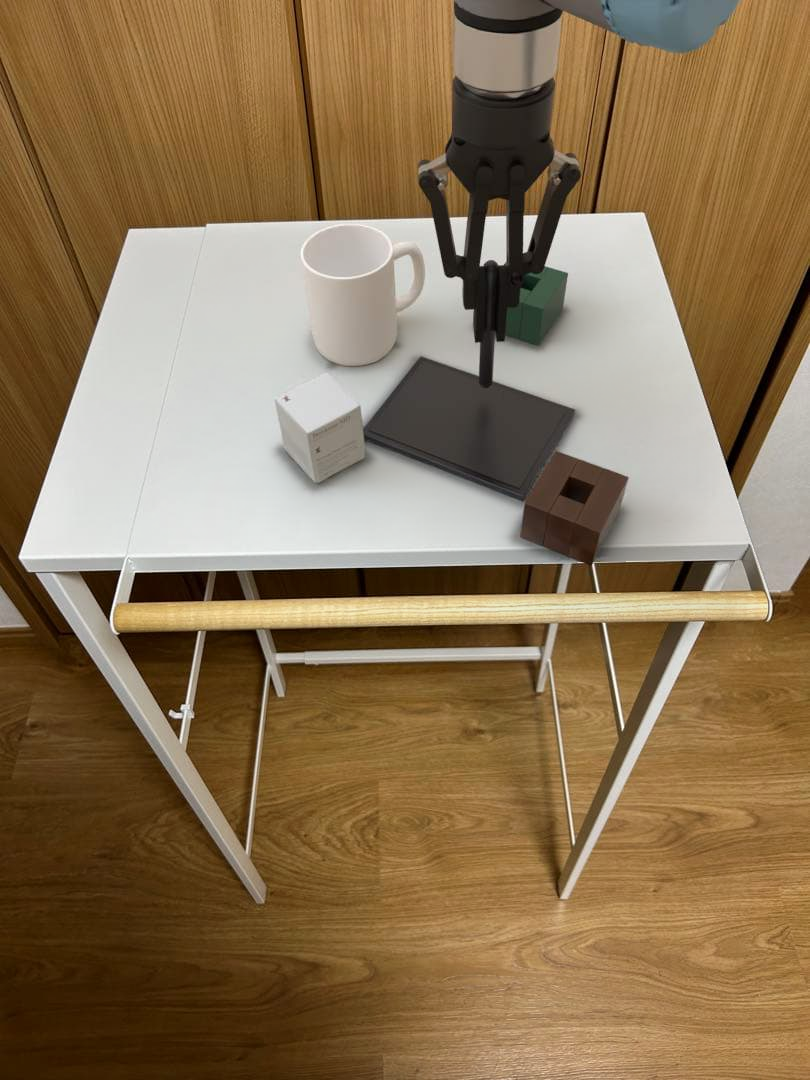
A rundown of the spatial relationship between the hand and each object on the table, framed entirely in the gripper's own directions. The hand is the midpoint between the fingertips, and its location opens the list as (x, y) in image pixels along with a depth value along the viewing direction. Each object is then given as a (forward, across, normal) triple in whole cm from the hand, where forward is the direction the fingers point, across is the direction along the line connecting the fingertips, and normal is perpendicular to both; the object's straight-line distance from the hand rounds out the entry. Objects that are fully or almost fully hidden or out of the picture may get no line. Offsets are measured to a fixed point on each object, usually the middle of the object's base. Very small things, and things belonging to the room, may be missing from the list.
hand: (488, 332), depth 79 cm
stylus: (+7, 0, 0) cm, 7 cm away
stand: (+9, -5, -14) cm, 17 cm away
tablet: (+9, +2, +3) cm, 10 cm away
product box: (+10, +16, +6) cm, 20 cm away
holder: (+9, -7, +16) cm, 20 cm away
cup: (+10, +12, -12) cm, 19 cm away
